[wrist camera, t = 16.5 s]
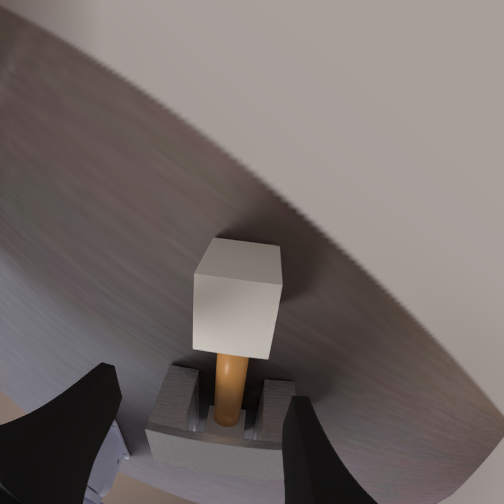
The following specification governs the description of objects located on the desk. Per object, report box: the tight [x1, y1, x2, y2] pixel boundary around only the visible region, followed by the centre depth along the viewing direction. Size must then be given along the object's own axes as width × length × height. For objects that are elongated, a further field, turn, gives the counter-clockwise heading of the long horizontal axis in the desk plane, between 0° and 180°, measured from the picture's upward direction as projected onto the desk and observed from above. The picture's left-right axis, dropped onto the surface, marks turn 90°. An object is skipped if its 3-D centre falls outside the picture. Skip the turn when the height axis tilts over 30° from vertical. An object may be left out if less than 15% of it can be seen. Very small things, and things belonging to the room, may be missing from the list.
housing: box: [145, 365, 296, 480], centre depth 21 cm, size 8×10×7 cm
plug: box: [193, 238, 283, 439], centre depth 19 cm, size 20×4×5 cm, turn 173°
